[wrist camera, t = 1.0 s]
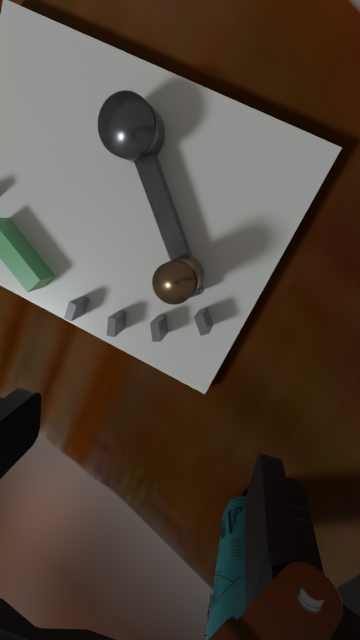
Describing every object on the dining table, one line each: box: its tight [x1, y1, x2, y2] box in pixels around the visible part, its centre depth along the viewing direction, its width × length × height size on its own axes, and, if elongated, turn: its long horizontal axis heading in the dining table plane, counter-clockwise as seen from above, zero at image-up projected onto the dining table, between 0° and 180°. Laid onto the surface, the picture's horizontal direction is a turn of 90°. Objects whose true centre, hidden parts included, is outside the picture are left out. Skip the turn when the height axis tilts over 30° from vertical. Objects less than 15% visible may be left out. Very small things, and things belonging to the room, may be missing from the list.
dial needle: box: [98, 90, 205, 305], centre depth 26 cm, size 16×4×6 cm, turn 21°
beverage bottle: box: [205, 496, 246, 640], centre depth 28 cm, size 6×7×20 cm
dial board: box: [0, 0, 342, 394], centre depth 30 cm, size 24×30×4 cm
